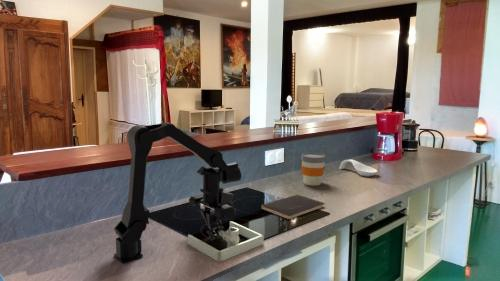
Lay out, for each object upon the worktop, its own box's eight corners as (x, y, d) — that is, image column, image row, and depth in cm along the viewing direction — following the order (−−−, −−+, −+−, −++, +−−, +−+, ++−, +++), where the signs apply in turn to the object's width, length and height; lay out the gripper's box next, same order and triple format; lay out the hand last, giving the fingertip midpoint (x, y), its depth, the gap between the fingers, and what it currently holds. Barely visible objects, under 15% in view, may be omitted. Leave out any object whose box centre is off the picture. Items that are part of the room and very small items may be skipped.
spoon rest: (380, 176, 216) (381, 164, 215) (368, 179, 209) (369, 166, 208) (347, 168, 234) (347, 156, 233) (334, 170, 227) (335, 159, 226)
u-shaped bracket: (219, 262, 112) (219, 252, 112) (187, 243, 124) (187, 235, 123) (263, 243, 125) (263, 235, 124) (231, 228, 137) (231, 221, 136)
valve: (244, 248, 121) (222, 236, 130) (245, 229, 120) (222, 218, 129) (228, 254, 117) (206, 241, 126) (228, 234, 116) (206, 222, 125)
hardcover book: (324, 208, 162) (324, 203, 162) (288, 221, 147) (289, 215, 147) (296, 198, 174) (296, 194, 173) (260, 209, 158) (260, 204, 158)
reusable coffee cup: (329, 184, 197) (330, 156, 194) (311, 187, 190) (313, 158, 187) (312, 178, 207) (313, 151, 204) (295, 181, 200) (296, 154, 197)
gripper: (247, 187, 126) (246, 231, 129) (213, 176, 139) (212, 216, 142) (221, 194, 118) (221, 240, 121) (187, 181, 132) (188, 223, 134)
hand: (211, 229), depth 130 cm, fingers closed
